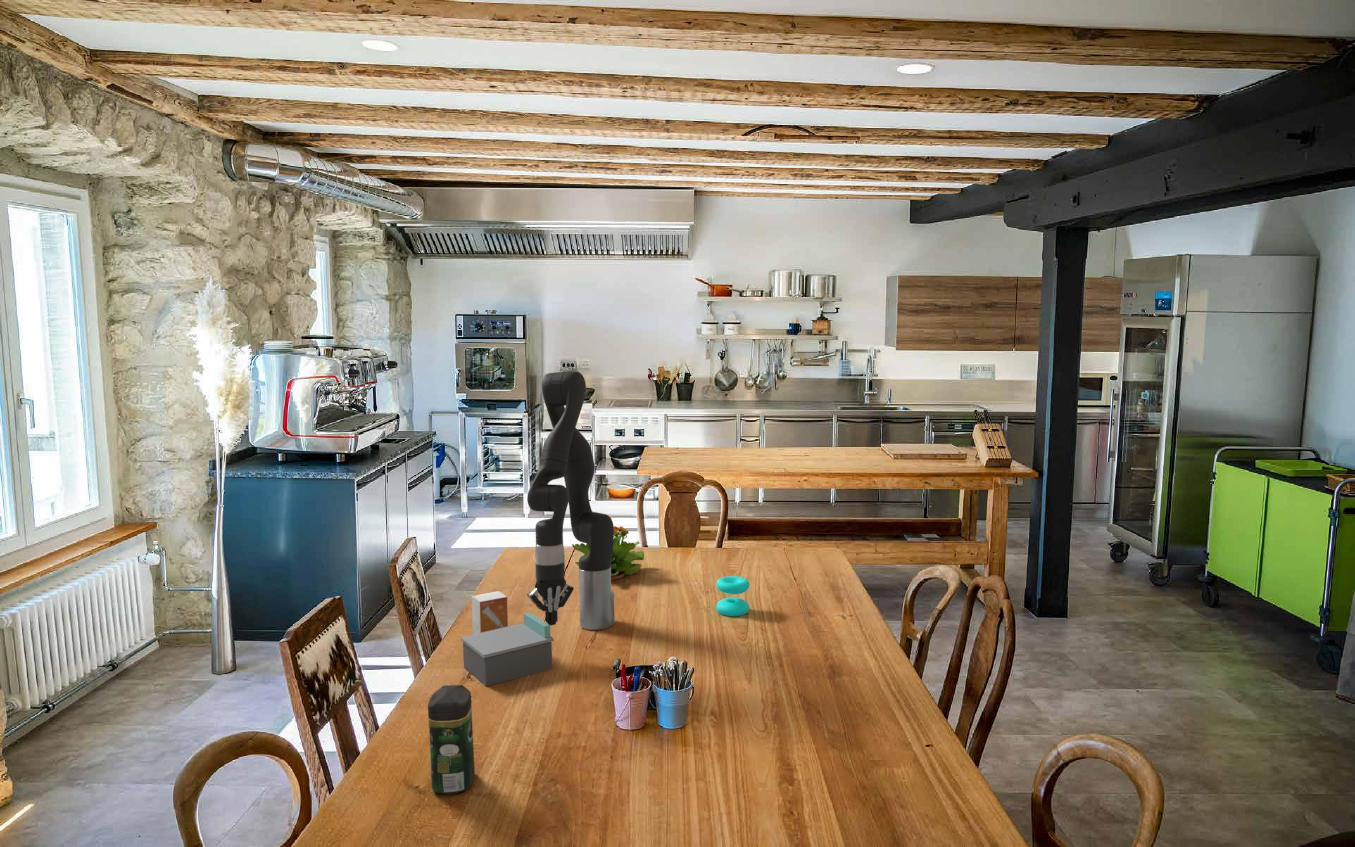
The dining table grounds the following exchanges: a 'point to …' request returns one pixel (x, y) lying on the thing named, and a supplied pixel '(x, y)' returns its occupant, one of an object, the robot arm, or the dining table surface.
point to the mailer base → (508, 663)
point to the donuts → (733, 604)
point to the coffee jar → (451, 739)
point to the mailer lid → (510, 637)
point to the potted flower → (619, 554)
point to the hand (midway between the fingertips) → (551, 624)
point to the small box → (489, 612)
